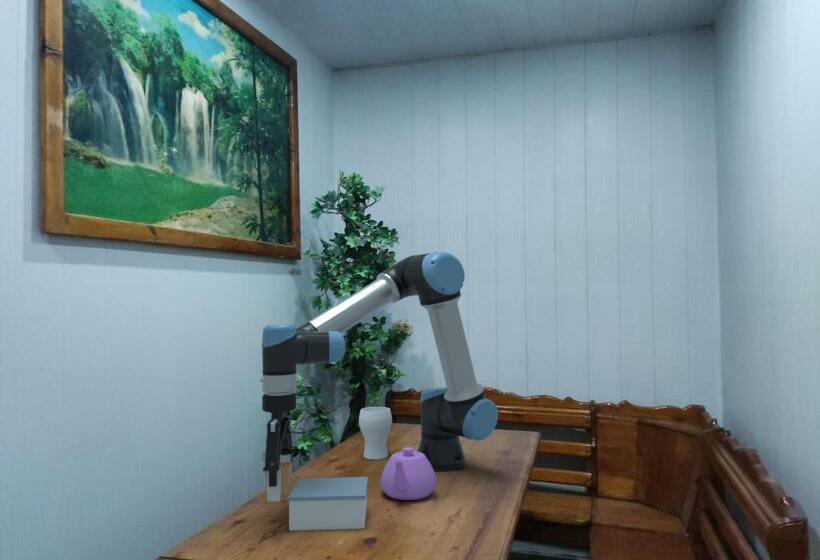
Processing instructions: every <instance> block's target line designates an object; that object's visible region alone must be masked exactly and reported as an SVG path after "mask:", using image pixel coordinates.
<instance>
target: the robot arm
mask: <svg viewBox="0 0 820 560" xmlns="http://www.w3.org/2000/svg"><path fill="white" fill-rule="evenodd" d="M464 282H465V269H464V266H463V265H462V263H461V261H460V260H459V258H457V257H456V256H455V255H453V254H452V253H449V252H445V251H433V252H427V253H421V254H416V255H415V254H413V255H410V256H408V257H406V258H403V259H401V260H400V261H398V262H396V263H394V264H393V265H391V266H390V267H388V268H387V269H385V270H384V271H382V272H380V273H379V274H377V276H376V279H375V280H374V281H372V282H371V283H369V284H367V285H365V287H363V288H361V289H359V290H357V291H356V292H354V293H352V294H351V295H349V296H347V297H346V298H345V299H343V300H342V301H340V302H338V303H336V304H335V305H333V306H331V307H329V308H328V309H327V310H324V311H323V312H321V313H320V314H318V315H317V316H314V317H313V318H312V319H310V320H308V321H307V322H305V323H303V324H302V325H300V326H298V327H297V326H296V325H295V324H290V323H289V324H285V323H283V324H267V325H265V326H264V327H263V329H262V337H261V338H262V340H261V341H262V343H261V351H262V352H261V353H262V354H261V359H262V377H261V378H260V379H259V382H260V383H262V389H261V390H262V392H263V393H264V394H263V395H262V397H261V400H262V401H261V406H262V407H261V409H262V412H264V413H270V414H271V417H270V419H269V420H268V422H267V423H266V426H267V427H266V443H265V444H266V447H265V458H264V459H265V461H264V466H263V467H262V471H263V472H266V501H267V502H281V495H282V494H281V469H279V468H280V467H279V465H280V462H291V454H294V453H295V451H294V450H295V449H293V444H292V441H293V439H292V427H291V412H292V411H295V410H296V409H297V394H296V391H297V384H298V383H297V366H298V365H299V366H301V365H313V364H314V365H315V364H330V363H337V362H340V361H341V360H343V358H344V356H345V353H346V341H345V337H344V336H343V333H345V332H346V331H348V330H350V329H351V328H353V327H354V326H356V325H357V324H359V323H360V322H362V321H363V320H365V319H366V318H368V317H369V316H371V315H373V314H374V313H376V312H377V311H380V310H381V309H382V308H383V307H385V306H386V305H388V304H390V303H392V304H397V303H398V302H399V301H401V300H403V299H405V298H408V297H412V296H418V300H419V304H420V307H421V308H422V307H423V308H424V309H426V311H427V315H428V317H429V321H430V325H431V330H432V332H433V333H432V334H433V337H434V340H435V346H436V350H437V354H438V357H439V362H440V365H441V369H442V373H443V378H444V381H445V385H446V386H445V387H443V386H442V387H432V388H426V389H423V390H422V391H421V393H420V401H419V402H420V403H419V404H420V432H421V433H420V438H421V439H420V442H419V445H418V448H417V451H418V452H421V453H423V454H424V455H425V456H426V458H427V459H428V461H429V462H430V464H431V466H432V468H433V470H434V472H448V471H456V470H459V469H462V468H463V467H465V465H466V455H465V451H464V449H463V446H462V442H461V440H460V437H463V438H465V439H467V440H475V441H483V440H485V439H487V438H488V437H489V436H490V435H492V433H493V432H494V430H495V427H496V426H497V423H498V418H499V411H498V408H497V405H496V404H495V402H493V401H492V399H490V398H487V396H486V392H485V389H484V386H483V385H482V384H480V383H478V382H477V378H476V375H475V374H476V373H475V370H474V366H473V362H472V358H471V354H470V350H469V345H468V342H467V341H468V340H467V337H466V334H465V333H466V332H465V329H464V325H463V321H462V317H461V312H460V308H459V304H458V302H459V300H460V298H461V297H462V294H461V289H462V288H463V286H464Z"/></svg>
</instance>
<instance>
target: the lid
mask: <svg viewBox="0 0 820 560" xmlns="http://www.w3.org/2000/svg"><path fill="white" fill-rule="evenodd" d="M292 465H293V463H292V462H291V461H290V462H280V465H279V467H280V468H279V469H281V495H283V494H288V495H287V501H286V502H289V501H321V500H359V499H366V491H367V492H368V483H369V477H368V476H355V477H354V476H351V477H348V476H347V477H346V476H345V477H344V476H343V477H313V478H312V477H310V478H309V477H308V478H302V477H301V478H296V481H295V483H294V484H293V481H292V480H293V475H292V473H293V470H292V468H293V466H292Z"/></svg>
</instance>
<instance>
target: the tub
mask: <svg viewBox="0 0 820 560" xmlns="http://www.w3.org/2000/svg"><path fill="white" fill-rule="evenodd" d="M367 493H368V490H367V491H366V499H359V500H321V501H288V529H289V531H290V532H292V531H293V532H294V531H321V530H323V531H325V530H328V531H329V530H359V529H363V530H364V529H365V525H366V518H367V517H366V515H367V507H368V505H367V502H368V501H367Z"/></svg>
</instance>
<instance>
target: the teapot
mask: <svg viewBox="0 0 820 560" xmlns="http://www.w3.org/2000/svg"><path fill="white" fill-rule="evenodd" d="M380 487H381V490H382V491H383V492H384V493H385V494H386V495H387V496H388V497H390V498H391V499H395V500H400V501H401V500H402V501H414V500H422V499H425V498H426V497H429V496H430V495H431V494H432V493H433V492H434V490H435V489H436V487H437V477H436V473H435V471H434V470H433V468H432V466H431V464H430V462H429V461H428V459H427V458H426V456H425V455H424V454H423V453H421V452H418V449H415V448H413V447H410V446H408V447H407V446H405V447H403V448H402V450H401V451H397V452H395V453H393V454H392V455H391V456H390V457H389V459H388V461H387V462H386V464H385V466H384V468H383V471H382V474H381V478H380Z"/></svg>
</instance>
